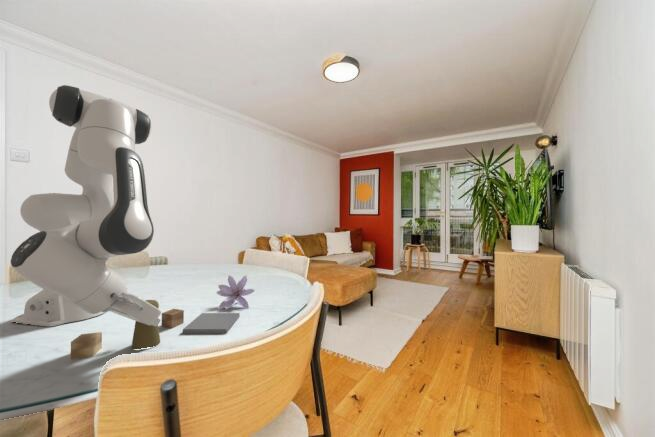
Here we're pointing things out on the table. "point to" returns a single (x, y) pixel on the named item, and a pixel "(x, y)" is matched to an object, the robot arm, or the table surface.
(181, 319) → the walnut block
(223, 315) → the coaster
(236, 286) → the water lily
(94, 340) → the oak block
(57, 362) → the table surface
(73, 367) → the table surface
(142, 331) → the cork
